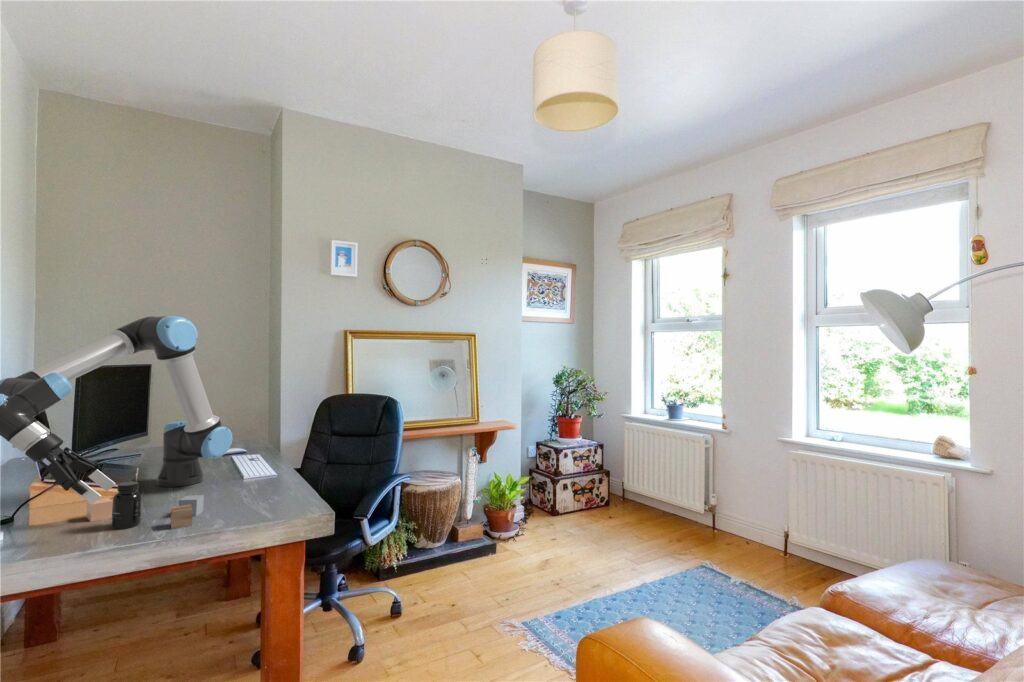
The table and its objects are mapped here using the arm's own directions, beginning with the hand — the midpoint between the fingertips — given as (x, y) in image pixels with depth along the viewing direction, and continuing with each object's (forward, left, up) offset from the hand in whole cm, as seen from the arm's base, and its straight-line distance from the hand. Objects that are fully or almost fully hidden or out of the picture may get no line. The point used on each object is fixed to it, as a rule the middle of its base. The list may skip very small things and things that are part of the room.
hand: (104, 493), depth 144 cm
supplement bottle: (-1, +5, -10) cm, 11 cm away
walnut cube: (+4, +19, -10) cm, 22 cm away
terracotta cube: (-12, -4, -10) cm, 16 cm away
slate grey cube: (-7, +20, -10) cm, 23 cm away
